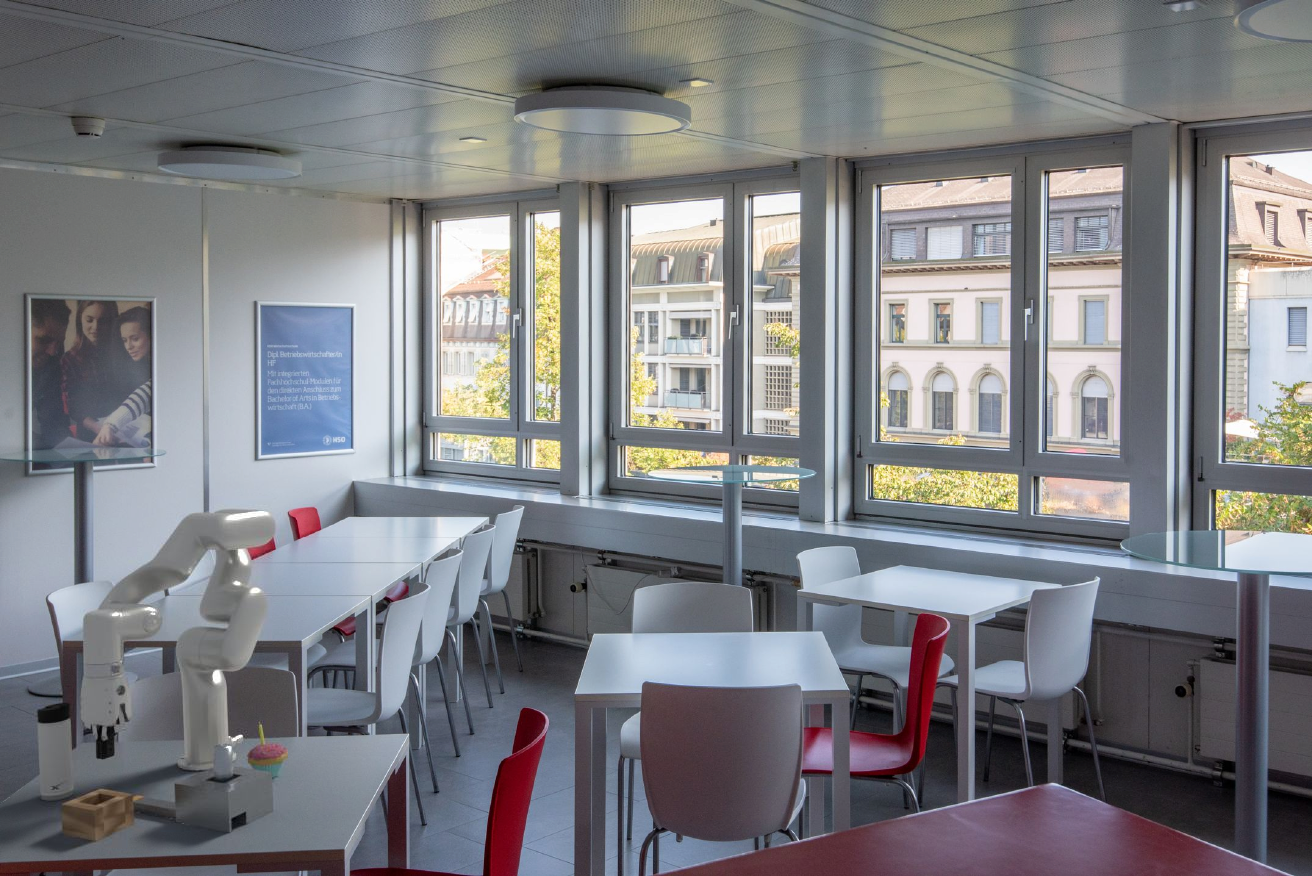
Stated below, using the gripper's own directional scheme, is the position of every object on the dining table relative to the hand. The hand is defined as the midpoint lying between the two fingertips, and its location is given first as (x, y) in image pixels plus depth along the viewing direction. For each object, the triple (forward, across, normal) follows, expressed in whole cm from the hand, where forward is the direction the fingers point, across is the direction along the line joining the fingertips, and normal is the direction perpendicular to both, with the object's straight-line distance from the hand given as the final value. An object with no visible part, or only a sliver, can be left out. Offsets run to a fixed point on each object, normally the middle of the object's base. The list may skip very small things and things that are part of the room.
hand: (105, 757), depth 233 cm
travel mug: (+10, +15, -1) cm, 18 cm away
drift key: (+10, -14, -1) cm, 17 cm away
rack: (+11, -9, +9) cm, 17 cm away
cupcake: (+10, -19, -27) cm, 34 cm away
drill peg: (+7, -28, -4) cm, 29 cm away
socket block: (+10, -28, -5) cm, 30 cm away
